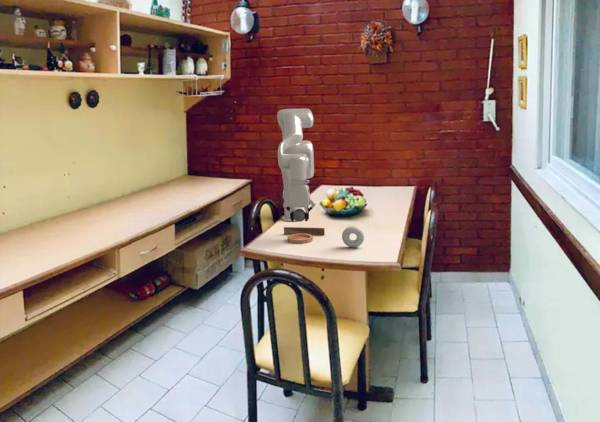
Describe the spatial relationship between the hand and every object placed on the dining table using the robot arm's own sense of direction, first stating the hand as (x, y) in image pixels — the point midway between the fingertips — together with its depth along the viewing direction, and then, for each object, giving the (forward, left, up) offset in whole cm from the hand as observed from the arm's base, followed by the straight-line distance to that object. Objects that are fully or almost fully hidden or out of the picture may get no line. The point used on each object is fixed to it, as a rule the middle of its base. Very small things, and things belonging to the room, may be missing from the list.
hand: (299, 220), depth 261 cm
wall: (-10, 0, -10) cm, 14 cm away
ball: (0, 0, +2) cm, 2 cm away
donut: (+9, +26, -10) cm, 29 cm away
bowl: (0, 0, -10) cm, 10 cm away
